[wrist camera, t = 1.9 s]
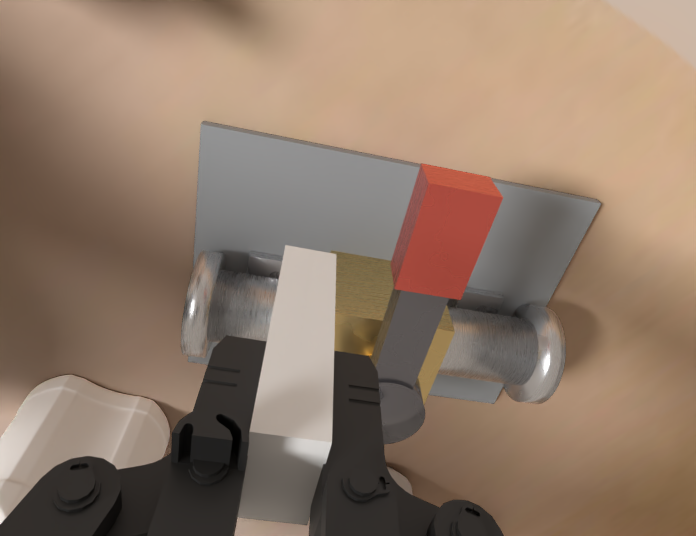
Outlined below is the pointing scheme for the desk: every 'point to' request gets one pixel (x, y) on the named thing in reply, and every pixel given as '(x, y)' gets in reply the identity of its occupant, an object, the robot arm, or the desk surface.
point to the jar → (76, 433)
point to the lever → (428, 283)
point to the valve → (366, 319)
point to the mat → (370, 219)
